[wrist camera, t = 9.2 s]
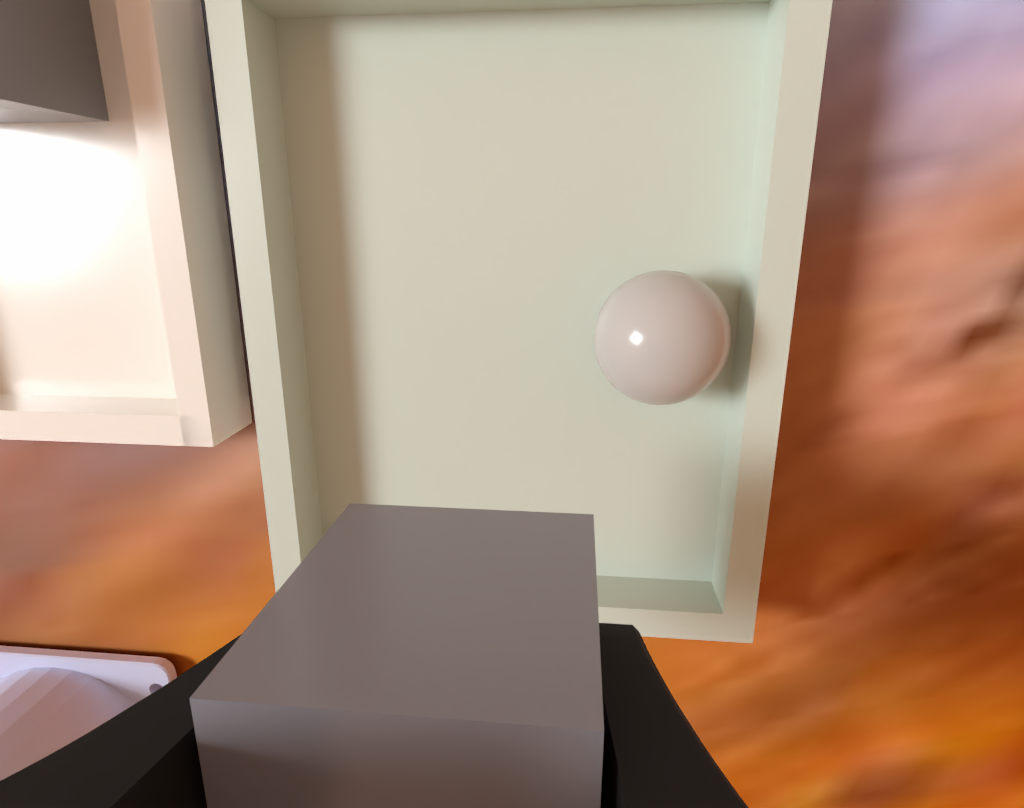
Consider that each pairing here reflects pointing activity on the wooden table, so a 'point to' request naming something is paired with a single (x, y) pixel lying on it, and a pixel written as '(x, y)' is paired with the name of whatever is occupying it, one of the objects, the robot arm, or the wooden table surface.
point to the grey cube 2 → (417, 669)
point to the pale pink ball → (662, 337)
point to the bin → (520, 266)
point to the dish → (123, 252)
